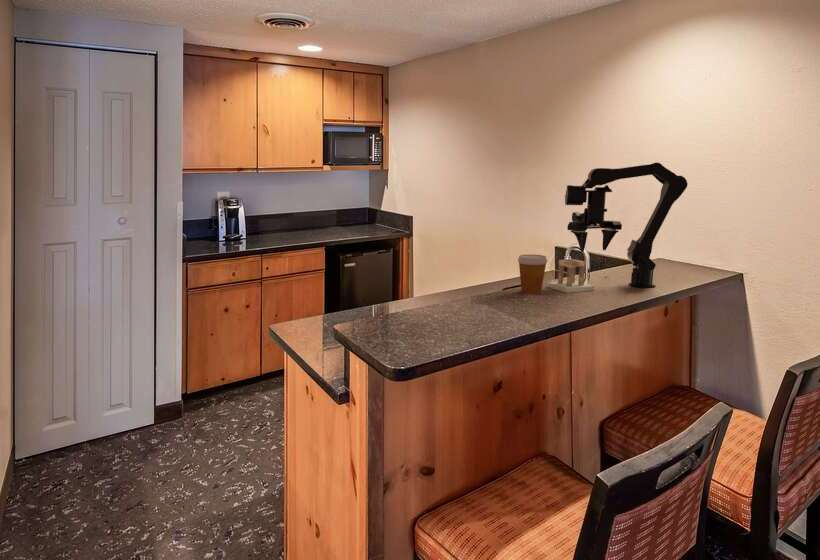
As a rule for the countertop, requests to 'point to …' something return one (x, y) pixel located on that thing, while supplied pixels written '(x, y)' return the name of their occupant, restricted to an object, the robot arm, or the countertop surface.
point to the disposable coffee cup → (532, 273)
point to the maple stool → (571, 271)
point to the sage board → (570, 287)
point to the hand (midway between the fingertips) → (593, 250)
